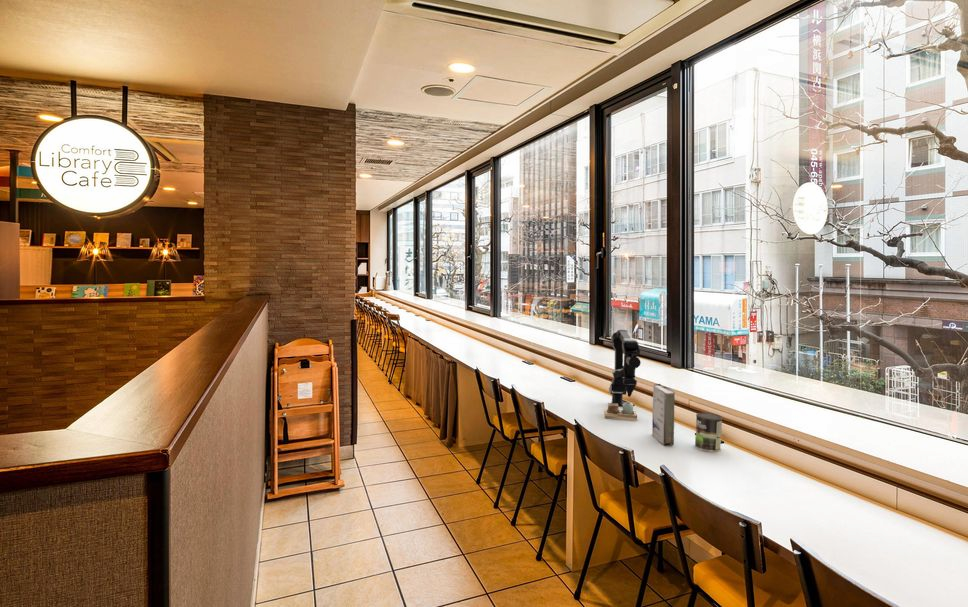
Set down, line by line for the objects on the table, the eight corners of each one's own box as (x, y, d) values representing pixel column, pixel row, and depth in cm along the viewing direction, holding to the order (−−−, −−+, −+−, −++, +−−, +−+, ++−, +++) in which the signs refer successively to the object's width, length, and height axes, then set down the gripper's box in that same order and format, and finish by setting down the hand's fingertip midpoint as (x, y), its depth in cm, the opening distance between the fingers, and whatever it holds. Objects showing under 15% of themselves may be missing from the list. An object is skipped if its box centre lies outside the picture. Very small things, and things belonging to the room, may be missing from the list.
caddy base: (604, 413, 270) (604, 408, 270) (635, 415, 267) (635, 411, 267) (604, 418, 262) (604, 413, 261) (637, 420, 258) (637, 415, 258)
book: (650, 433, 237) (652, 382, 236) (662, 434, 237) (664, 383, 236) (661, 446, 221) (663, 391, 219) (674, 446, 221) (676, 391, 219)
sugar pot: (632, 414, 265) (632, 401, 265) (633, 416, 261) (633, 403, 260) (622, 413, 266) (622, 400, 266) (623, 416, 262) (623, 403, 261)
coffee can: (705, 452, 213) (706, 419, 212) (689, 444, 223) (691, 413, 223) (726, 451, 216) (727, 418, 215) (710, 443, 226) (711, 411, 225)
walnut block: (617, 413, 267) (617, 403, 267) (618, 415, 262) (618, 406, 262) (607, 412, 268) (608, 402, 268) (608, 414, 263) (608, 405, 263)
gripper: (612, 360, 272) (611, 389, 273) (614, 367, 254) (613, 397, 255) (634, 361, 270) (633, 390, 271) (637, 368, 252) (636, 399, 253)
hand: (628, 394), depth 263 cm, fingers open, 9 cm apart
